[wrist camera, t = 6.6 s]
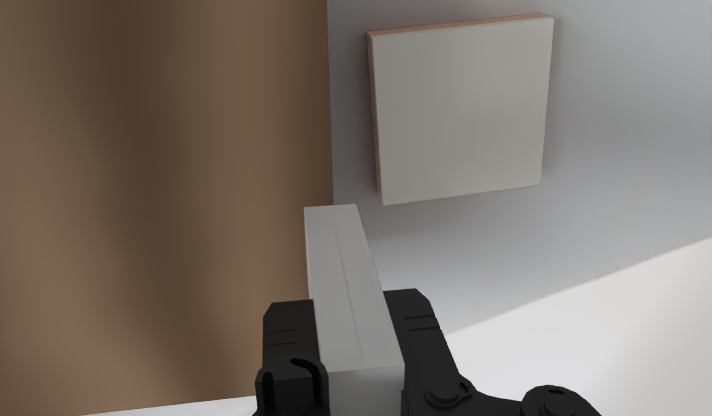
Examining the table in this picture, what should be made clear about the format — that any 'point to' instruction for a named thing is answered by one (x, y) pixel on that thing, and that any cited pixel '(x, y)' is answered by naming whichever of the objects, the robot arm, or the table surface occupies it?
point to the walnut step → (153, 194)
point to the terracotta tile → (459, 106)
